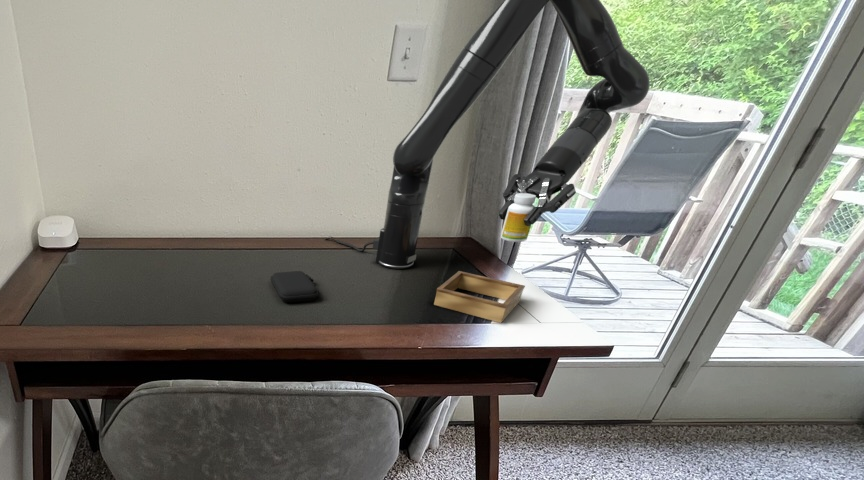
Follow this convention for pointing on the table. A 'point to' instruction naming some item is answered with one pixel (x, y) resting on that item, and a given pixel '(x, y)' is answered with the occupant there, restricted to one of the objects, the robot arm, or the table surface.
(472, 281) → the wooden box frame
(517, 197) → the supplement bottle
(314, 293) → the carrying case
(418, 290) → the table surface
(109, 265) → the table surface
